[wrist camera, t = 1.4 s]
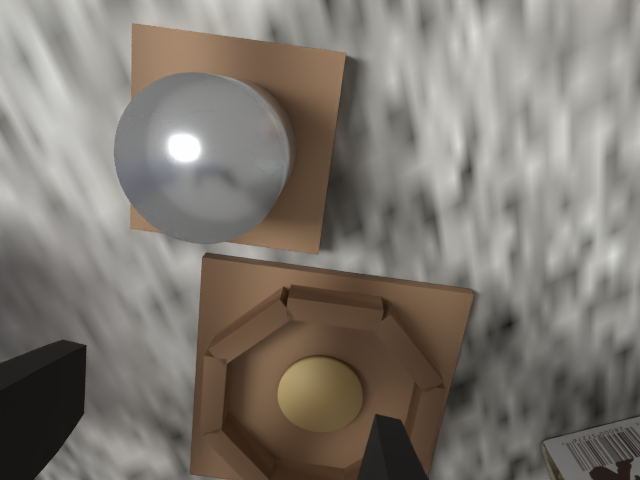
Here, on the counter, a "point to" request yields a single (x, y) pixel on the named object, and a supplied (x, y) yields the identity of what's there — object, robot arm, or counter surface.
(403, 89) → the counter surface
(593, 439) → the coffee box
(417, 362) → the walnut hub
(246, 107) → the silver metal canister
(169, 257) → the counter surface
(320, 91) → the walnut stand
